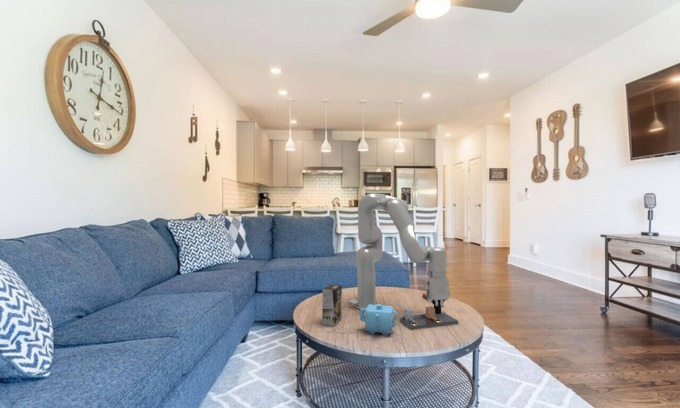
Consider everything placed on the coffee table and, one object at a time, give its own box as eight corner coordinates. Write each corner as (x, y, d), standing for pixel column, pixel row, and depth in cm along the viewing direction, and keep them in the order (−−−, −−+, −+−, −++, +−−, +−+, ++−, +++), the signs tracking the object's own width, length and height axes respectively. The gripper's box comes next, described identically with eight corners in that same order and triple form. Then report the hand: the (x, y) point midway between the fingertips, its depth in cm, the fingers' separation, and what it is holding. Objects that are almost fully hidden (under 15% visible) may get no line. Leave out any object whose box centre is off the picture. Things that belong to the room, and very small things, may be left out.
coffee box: (335, 326, 137) (335, 290, 137) (321, 324, 139) (321, 288, 139) (342, 319, 146) (342, 285, 146) (329, 317, 148) (329, 283, 148)
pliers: (429, 308, 163) (429, 303, 163) (421, 297, 183) (421, 292, 183) (452, 308, 163) (452, 303, 163) (441, 297, 183) (441, 293, 183)
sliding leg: (432, 321, 139) (432, 311, 139) (425, 316, 145) (425, 306, 145) (438, 320, 140) (438, 310, 140) (431, 315, 146) (431, 306, 146)
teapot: (398, 325, 139) (398, 300, 139) (396, 342, 121) (396, 313, 121) (363, 322, 142) (363, 297, 142) (356, 338, 125) (356, 310, 125)
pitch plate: (410, 329, 134) (410, 315, 134) (399, 321, 143) (399, 307, 143) (458, 323, 140) (458, 309, 141) (444, 316, 150) (444, 303, 150)
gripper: (427, 277, 139) (427, 318, 139) (456, 274, 144) (456, 314, 143) (419, 273, 147) (419, 312, 146) (446, 271, 151) (446, 309, 151)
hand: (437, 313), depth 145 cm, fingers closed
